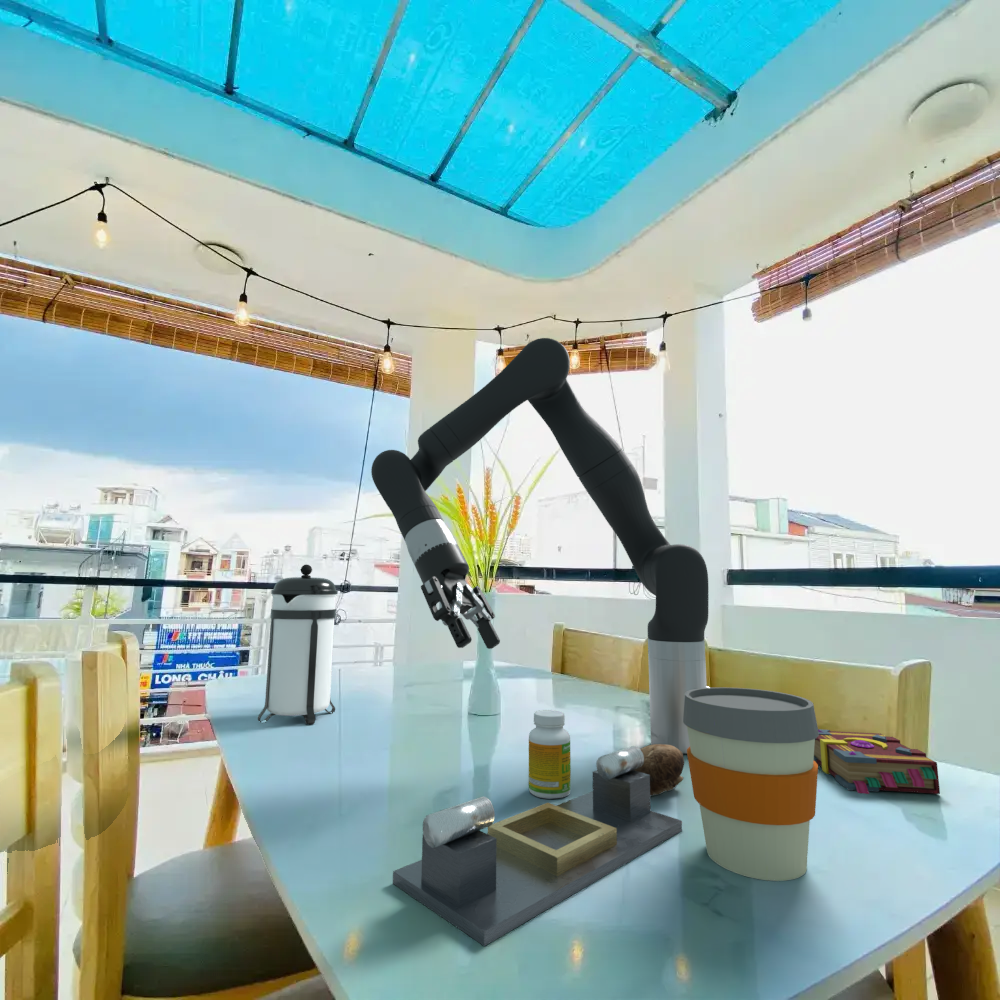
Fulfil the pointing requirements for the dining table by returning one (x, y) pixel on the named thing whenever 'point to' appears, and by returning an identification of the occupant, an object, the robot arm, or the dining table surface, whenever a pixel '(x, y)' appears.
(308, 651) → the coffee press
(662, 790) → the brown rough round lump
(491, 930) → the shaft bench
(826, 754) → the decorative book
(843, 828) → the dining table surface
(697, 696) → the reusable coffee cup
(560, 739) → the supplement bottle
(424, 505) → the robot arm
